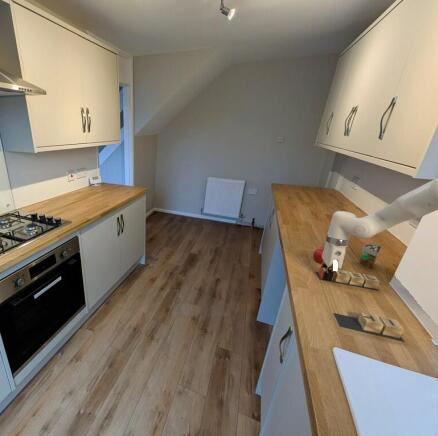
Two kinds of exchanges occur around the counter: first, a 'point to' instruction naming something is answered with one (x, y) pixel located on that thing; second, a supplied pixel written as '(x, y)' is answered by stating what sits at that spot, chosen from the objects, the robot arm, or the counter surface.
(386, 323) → the tile
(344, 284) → the word mat
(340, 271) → the tile
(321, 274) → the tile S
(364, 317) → the tan wooden cube
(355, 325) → the word mat
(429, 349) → the counter surface
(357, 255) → the counter surface
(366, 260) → the food container
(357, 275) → the wooden letter cube
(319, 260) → the pomegranate
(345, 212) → the robot arm
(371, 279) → the light wood cube
